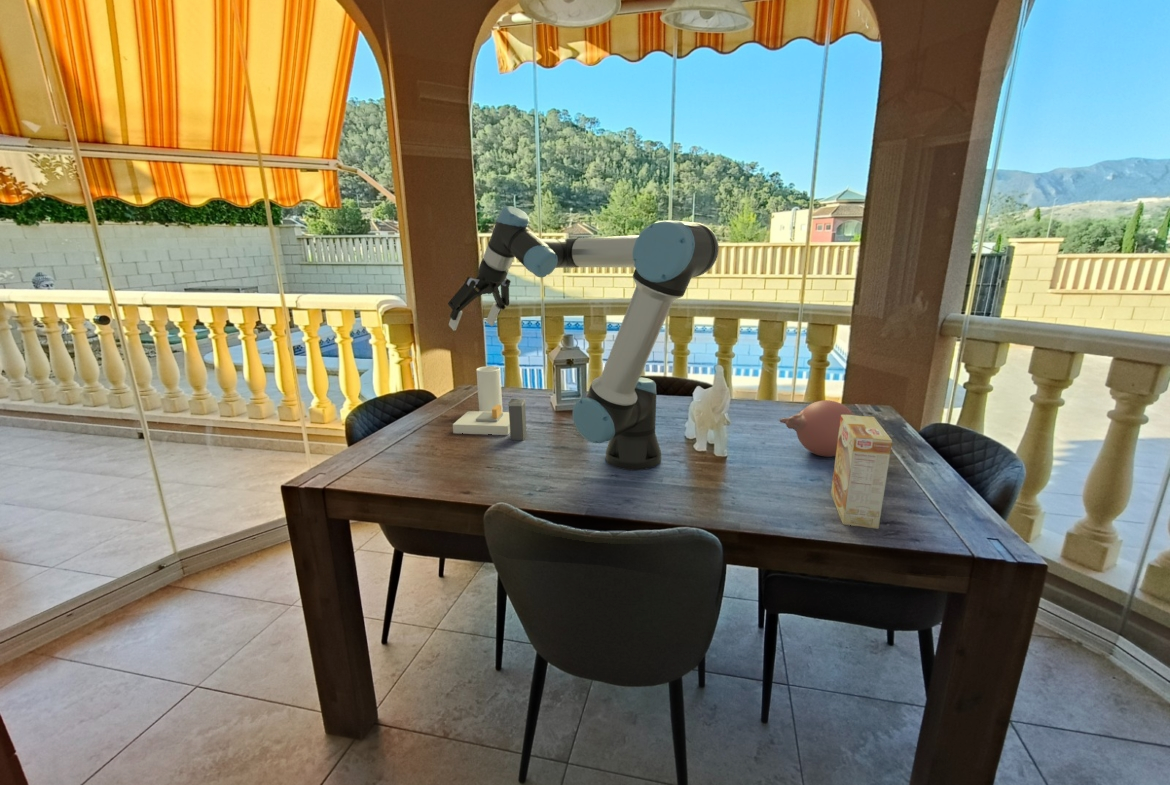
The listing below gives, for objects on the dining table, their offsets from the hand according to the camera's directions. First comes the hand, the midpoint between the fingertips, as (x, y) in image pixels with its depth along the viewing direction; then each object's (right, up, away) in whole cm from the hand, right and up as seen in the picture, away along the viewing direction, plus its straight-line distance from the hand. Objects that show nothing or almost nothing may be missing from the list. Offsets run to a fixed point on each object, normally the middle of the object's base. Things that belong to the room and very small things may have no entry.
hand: (471, 325), depth 147 cm
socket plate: (+1, -31, +19) cm, 37 cm away
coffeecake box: (+92, -45, -37) cm, 109 cm away
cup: (-1, -27, +35) cm, 44 cm away
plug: (+13, -34, +9) cm, 37 cm away
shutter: (+2, -28, +18) cm, 34 cm away
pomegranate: (+97, -37, -6) cm, 104 cm away
